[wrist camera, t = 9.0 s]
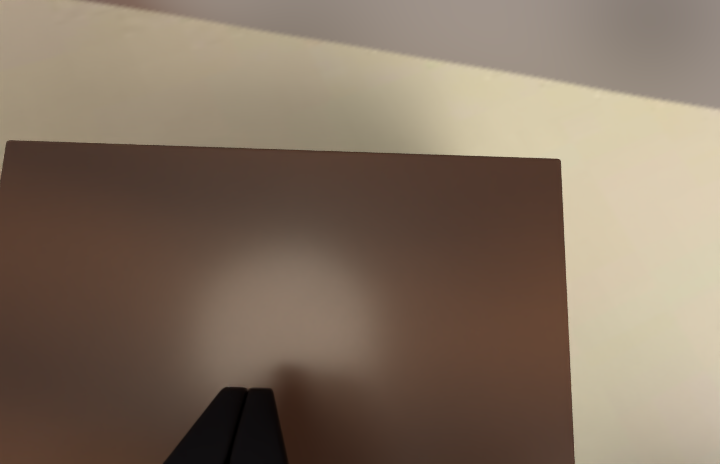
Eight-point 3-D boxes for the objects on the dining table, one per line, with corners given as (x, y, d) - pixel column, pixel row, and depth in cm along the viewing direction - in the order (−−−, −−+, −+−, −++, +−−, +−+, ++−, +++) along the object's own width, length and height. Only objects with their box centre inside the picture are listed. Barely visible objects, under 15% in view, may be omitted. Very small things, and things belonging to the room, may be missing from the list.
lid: (24, 149, 14) (4, 139, 13) (550, 167, 14) (562, 158, 13) (-64, 731, 11) (-95, 761, 10) (573, 737, 11) (590, 767, 11)
